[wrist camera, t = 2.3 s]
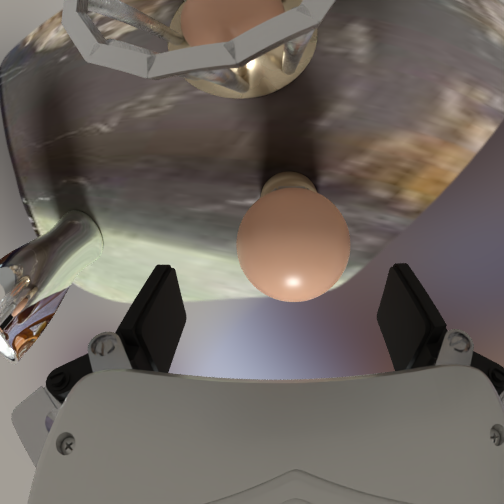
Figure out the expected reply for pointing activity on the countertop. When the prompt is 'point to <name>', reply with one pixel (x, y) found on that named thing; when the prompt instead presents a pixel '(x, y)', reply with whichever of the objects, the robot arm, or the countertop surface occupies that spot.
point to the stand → (287, 182)
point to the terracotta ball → (293, 244)
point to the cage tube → (204, 48)
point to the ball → (224, 18)
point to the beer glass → (42, 280)
